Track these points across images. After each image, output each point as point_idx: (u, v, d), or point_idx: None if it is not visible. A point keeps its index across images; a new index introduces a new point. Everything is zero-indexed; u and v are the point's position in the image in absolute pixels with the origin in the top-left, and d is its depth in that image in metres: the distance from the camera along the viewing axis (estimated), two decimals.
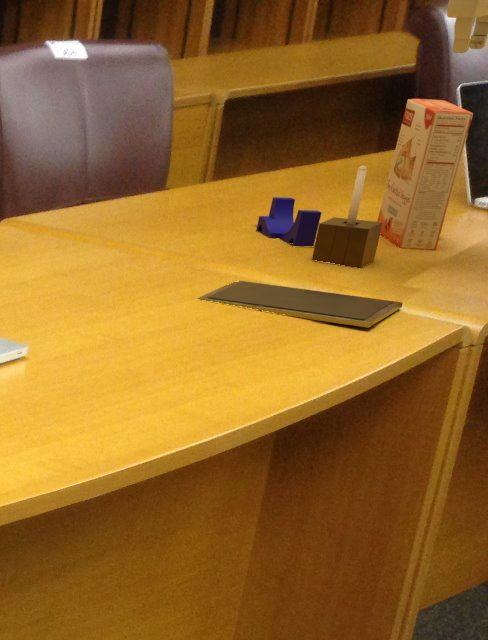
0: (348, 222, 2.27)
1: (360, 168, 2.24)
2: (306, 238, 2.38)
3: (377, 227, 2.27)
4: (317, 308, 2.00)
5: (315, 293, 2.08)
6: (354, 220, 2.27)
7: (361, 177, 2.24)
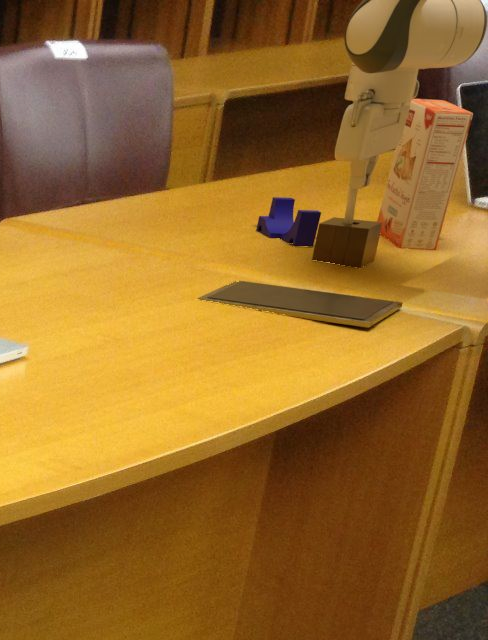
0: (345, 222, 2.28)
1: None
2: (306, 238, 2.38)
3: (377, 227, 2.27)
4: (317, 308, 2.00)
5: (315, 293, 2.08)
6: (351, 220, 2.27)
7: None
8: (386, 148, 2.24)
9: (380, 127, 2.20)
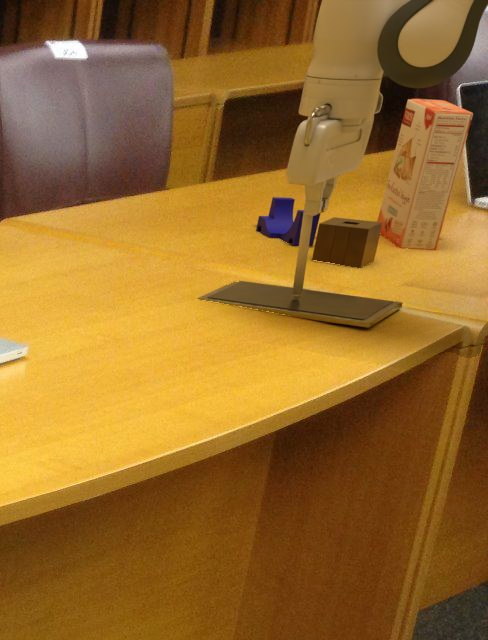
0: (299, 252, 2.02)
1: None
2: None
3: (377, 227, 2.27)
4: (317, 308, 2.00)
5: (315, 293, 2.08)
6: (306, 249, 2.02)
7: None
8: (345, 169, 1.99)
9: (338, 146, 1.95)
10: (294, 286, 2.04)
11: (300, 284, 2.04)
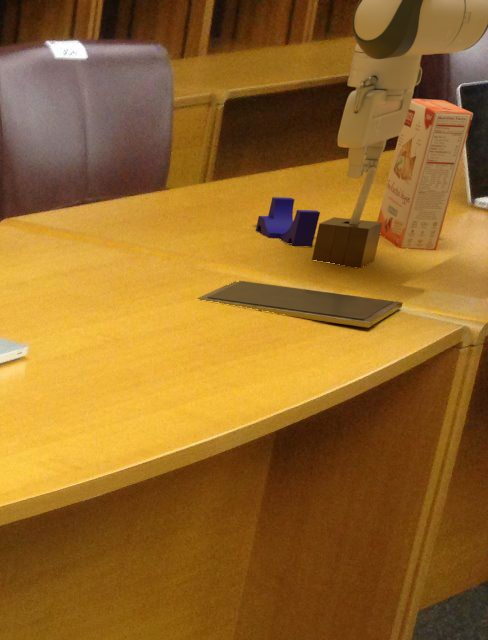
0: (351, 222, 2.27)
1: (370, 169, 2.23)
2: (305, 238, 2.38)
3: (377, 227, 2.27)
4: (317, 308, 2.00)
5: (315, 293, 2.08)
6: (357, 221, 2.27)
7: (370, 178, 2.24)
8: (389, 135, 2.23)
9: (383, 114, 2.19)
10: None
11: None
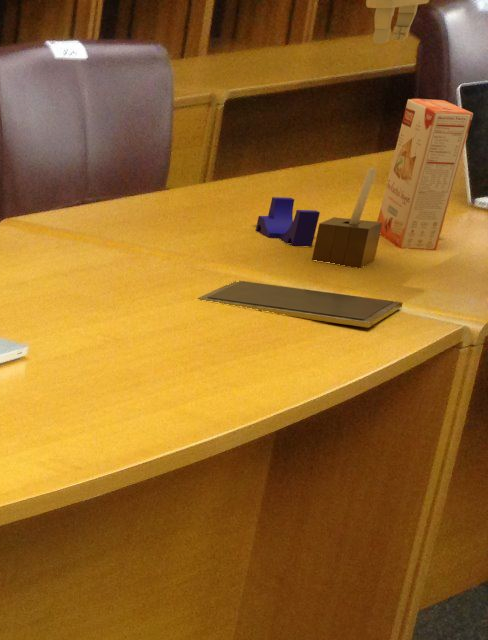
0: (351, 222, 2.27)
1: (370, 169, 2.23)
2: (304, 238, 2.38)
3: (377, 227, 2.27)
4: (317, 308, 2.00)
5: (315, 293, 2.08)
6: (357, 221, 2.27)
7: (370, 178, 2.24)
8: None
9: None
10: None
11: None
